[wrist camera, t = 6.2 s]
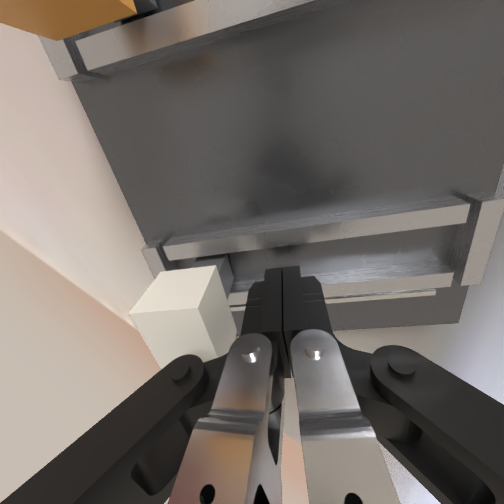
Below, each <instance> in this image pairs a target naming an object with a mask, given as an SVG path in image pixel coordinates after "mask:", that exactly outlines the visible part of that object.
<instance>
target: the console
mask: <svg viewBox="0 0 504 504" xmlns="http://www.w3.org/2000/svg"><path fill="white" fill-rule="evenodd" d="M155 1H156V5H157V8H156V9H154V10H151V11H148V12H145V13H142V14H139V15H136V16H133V17H130V18H128V19H125V20H122V21H119V22H116V23H115V22H111V23H108V24H105V25H102V26H99V27H96V28H93V29H91V30H88V31H85V32H82V33H79V34H76V35H73V36H70V37H68V38H65V39H62V40H59V41H54V40H51V39H48V38H45V37H42V36H39V35H38V36H39V39H40V41H41V43H42V45H43V47H44V49H45V51H46V53H47V55H48V57H49V59H50V62H51V64H52V66H53V68H54V70H55V72H56V74H57V76H58V78H59V80H65V81H71V82H72V83H73V86H74V88H75V90H76V92H77V94H78V96H79V99H80V101H81V103H82V105H83V107H84V110H85V112H86V114H87V116H88V118H89V120H90V123H91V125H92V127H93V129H94V131H95V133H96V136H97V138H98V140H99V142H100V144H101V146H102V149H103V151H104V153H105V155H106V157H107V159H108V162H109V164H110V166H111V168H112V170H113V173H114V175H115V177H116V179H117V181H118V183H119V186H120V188H121V190H122V192H123V194H124V196H125V199H126V201H127V203H128V205H129V207H130V209H131V212H132V214H133V216H134V218H135V220H136V222H137V225H138V227H139V229H140V231H141V233H142V236H143V238H144V240H145V242H146V245H145V246H144V247H143V248H142V249H141V251H142V254H143V256H144V258H145V260H146V262H147V264H148V266H149V268H150V270H151V272H152V274H153V276H154V279H155V278H156V277H157V276H158V274H159V273H160V272H163V271H171V270H180V269H188V268H191V267H192V265H193V264H194V262H195V260H196V258H197V257H202V256H210V255H217V254H225V253H227V256H228V260H229V263H230V267H231V270H232V273H233V277H234V279H233V283H232V286H231V290H230V293H229V297H228V300H227V301H228V304H229V307H230V310H231V313H232V316H233V320H234V323H235V326H236V329H237V333H236V336H240V334H241V329H242V323H243V318H244V312H245V308H246V302H247V296H248V291H249V289H250V288H251V286H252V285H253V284H254V282H259V281H264V275H265V269H274V268H282V270H283V267H291V266H299V265H300V272H301V277H306V276H314V277H315V278H316V279H317V280H318V281H319V282H320V283H321V286H322V290H323V295H324V299H325V303H326V307H327V311H328V315H329V320H330V324H331V328H332V331H334V330H351V329H368V328H385V327H401V326H418V325H435V324H452V323H458V322H459V318H460V315H461V311H462V308H463V304H464V300H465V297H466V293H467V290H468V286H469V285H477V284H481V281H482V278H483V275H484V272H485V269H486V265H487V262H488V259H489V256H490V253H491V249H492V246H493V243H494V240H495V237H496V233H497V230H498V227H499V224H500V221H501V217H502V214H503V211H504V197H502V196H499V195H496V194H495V191H496V188H497V184H498V181H499V177H500V174H501V170H502V167H503V163H504V0H155Z"/></svg>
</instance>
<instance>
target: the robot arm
mask: <svg viewBox="0 0 504 504" xmlns="http://www.w3.org/2000/svg"><path fill="white" fill-rule="evenodd" d="M291 370H292V375H293V378H294V381H295V388H296V396H297V403H298V411H299V420H300V421H299V425H300V435H301V443H302V450H303V458H304V465H305V474H306V482H307V489H308V496H309V504H401V503H400V501H399V498H398V495H397V492H396V490H395V487H394V484H393V482H392V479H391V476H390V473H389V471H388V468H387V465H386V462H385V460H384V457H383V454H382V452H381V449H380V446H379V443H378V441H379V442H380V443H381V444H382V445H383V446H384V447H385V448H386V449H387V450H388V451H389V452H390V453H391V454H392V455H393V456H394V457H395V458H396V459H397V460H398V461H399V462H400V463H401V464H402V465H403V466H404V467H405V468H406V469H407V470H408V471H409V472H410V473H411V474H412V475H413V476H414V477H415V478H416V479H417V480H418V481H419V482H420V483H421V484H422V485H423V486H424V487H425V488H426V489H427V490H428V491H429V492H430V493H431V494H432V495H433V496H434V497H435V498H436V499H437V500H438V501H439V502H440V503H441V504H504V405H503V404H501V403H500V402H498V401H496V400H495V399H493V398H491V397H490V396H488V395H487V394H485V393H483V392H482V391H480V390H478V389H477V388H475V387H473V386H472V385H470V384H468V383H467V382H465V381H463V380H462V379H460V378H458V377H457V376H455V375H453V374H452V373H450V372H448V371H447V370H445V369H443V368H442V367H440V366H438V365H437V364H435V363H433V362H432V361H430V360H428V359H427V358H425V357H424V356H422V355H420V354H419V353H417V352H415V351H413V350H411V349H409V348H406V347H402V346H397V345H388V346H383V347H381V348H379V349H377V350H376V351H375V352H374V353H373V354H371V353H366V352H362V351H357V350H354V349H351V348H349V347H347V346H345V345H343V344H342V343H341V342H339V341H338V340H337V338H336V337H335V336H334V334H333V331H332V328H331V324H330V320H329V315H328V311H327V307H326V303H325V299H324V295H323V290H322V286H321V283H320V282H319V281H318V280H317V279H316V278H315V277H314V276H306V277H301V272H300V265H299V266H291V267H283V270H282V268H274V269H265V275H264V281H259V282H254V284H253V285H252V286H251V288H250V289H249V291H248V296H247V302H246V308H245V312H244V318H243V323H242V329H241V334H240V337H239V338H238V339H236V340H235V341H234V342H233V344H232V345H231V347H230V349H229V352H228V353H227V354H225V355H223V356H221V357H218V358H215V359H212V360H209V361H207V362H204V363H203V361H202V360H201V358H200V357H198V356H196V355H193V354H187V355H182V356H180V357H177V358H176V359H174V360H173V361H171V362H170V363H169V364H168V365H166V366H165V367H164V368H163V369H162V370H161V371H159V372H158V373H157V374H156V375H154V376H153V377H152V378H151V379H150V380H148V381H147V382H146V383H145V384H144V385H142V386H141V387H140V388H139V389H137V390H136V391H135V392H134V393H133V394H131V395H130V396H129V397H128V398H127V399H125V400H124V401H123V402H122V403H120V404H119V405H118V406H117V407H116V408H114V409H113V410H112V411H111V412H110V413H108V414H107V415H106V416H105V417H104V418H102V419H101V420H100V421H99V422H98V423H96V424H95V425H94V426H93V427H92V428H90V429H89V430H88V431H87V432H85V433H84V434H83V435H82V436H81V437H79V438H78V439H77V440H76V441H75V442H74V443H72V444H71V445H70V446H69V447H67V448H66V449H65V450H64V451H63V452H61V453H60V454H59V455H58V456H57V457H55V458H54V459H53V460H52V461H51V462H49V463H48V464H47V465H46V466H45V467H44V468H42V469H41V470H40V471H39V472H37V473H36V474H35V475H34V476H32V477H31V478H30V479H29V480H28V481H26V482H25V483H24V484H23V485H22V486H21V487H19V488H18V489H17V490H16V491H14V492H13V493H12V494H11V495H10V496H8V497H7V498H6V499H5V500H3V501H2V502H1V503H0V504H164V503H165V502H166V500H167V499H168V498H169V497H170V498H169V501H168V504H282V482H281V455H282V438H283V422H284V405H285V399H284V378H291ZM377 440H378V441H377Z"/></svg>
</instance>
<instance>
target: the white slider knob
mask: <svg viewBox="0 0 504 504" xmlns="http://www.w3.org/2000/svg"><path fill="white" fill-rule="evenodd" d="M233 279H234V277H233V273H232V270H231V267H230V263H229V260H228V256H227V253H225V254H217V255H210V256H202V257H197V258H196V260H195V262H194V264H193V265H192V267H191V268H188V269H180V270H171V271H163V272H160V273H159V274H158V276H157V277H156V278H155V280H154V281H153V282H152V284H151V285H150V286H149V287H148V289H147V290H146V291H145V293H144V294H143V295H142V297H141V298H140V299H139V301H138V302H137V303H136V304H135V306H134V307H133V308H132V310H131V311H130V312H129V316H130V317H131V319H132V321H133V322H134V324H135V326H136V328H137V329H138V331H139V333H140V334H141V336H142V338H143V339H144V341H145V343H146V344H147V346H148V347H149V349H150V351H151V353H152V354H153V356H154V358H155V359H156V361H157V363H158V365H159V366H160V368H161V370H162V369H163V368H164V367H165V366H166V365H168V364H169V363H170V362H171V361H173V360H174V359H176V358H177V357H180V356H182V355H187V354H193V355H196V356H198V357H200V358H201V360H202V361H203V363H204V362H207V361H209V360H212V359H215V358H218V357H221V356H223V355H225V354H227V353H228V352H229V349H230V347H231V345H232V344H233V342H234V341H235V338H236V333H237V329H236V326H235V323H234V320H233V316H232V313H231V310H230V307H229V304H228V301H227V300H228V297H229V293H230V290H231V286H232V283H233Z"/></svg>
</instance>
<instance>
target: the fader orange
mask: <svg viewBox="0 0 504 504" xmlns="http://www.w3.org/2000/svg"><path fill="white" fill-rule="evenodd" d="M156 8H157V5H156V1H155V0H0V23H3V24H6V25H9V26H12V27H15V28H18V29H21V30H24V31H27V32H30V33H33V34H36V35H39V36H42V37H45V38H48V39H51V40H54V41H59V40H62V39H65V38H68V37H70V36H73V35H76V34H79V33H82V32H85V31H88V30H91V29H93V28H96V27H99V26H102V25H105V24H108V23H111V22H115V23H116V22H119V21H122V20H125V19H128V18H130V17H133V16H136V15H139V14H142V13H145V12H148V11H151V10H154V9H156Z"/></svg>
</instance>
